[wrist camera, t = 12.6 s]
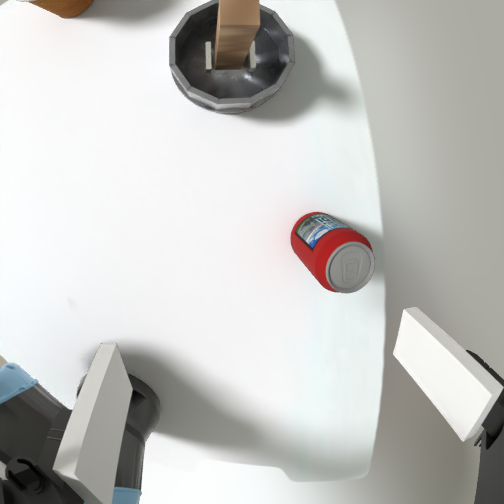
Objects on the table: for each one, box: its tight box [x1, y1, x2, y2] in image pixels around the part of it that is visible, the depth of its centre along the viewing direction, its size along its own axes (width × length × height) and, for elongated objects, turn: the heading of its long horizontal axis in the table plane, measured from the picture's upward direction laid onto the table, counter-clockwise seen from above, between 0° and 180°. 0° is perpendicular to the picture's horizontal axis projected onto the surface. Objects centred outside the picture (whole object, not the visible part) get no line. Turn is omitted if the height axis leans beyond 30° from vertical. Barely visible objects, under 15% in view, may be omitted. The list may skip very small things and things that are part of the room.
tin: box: [169, 0, 295, 113], centre depth 29 cm, size 14×14×5 cm
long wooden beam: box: [215, 0, 260, 70], centre depth 24 cm, size 3×3×14 cm
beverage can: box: [291, 212, 375, 293], centre depth 34 cm, size 7×7×12 cm
